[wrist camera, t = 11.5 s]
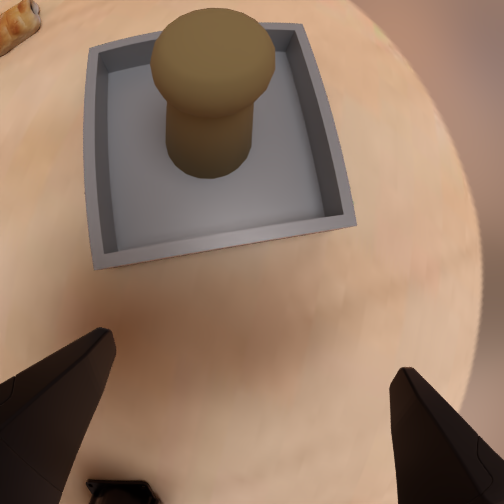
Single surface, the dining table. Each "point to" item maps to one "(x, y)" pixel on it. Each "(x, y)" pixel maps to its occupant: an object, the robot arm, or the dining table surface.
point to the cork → (211, 87)
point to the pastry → (18, 24)
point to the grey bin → (207, 190)
